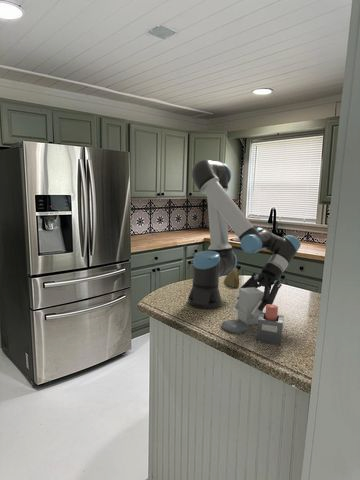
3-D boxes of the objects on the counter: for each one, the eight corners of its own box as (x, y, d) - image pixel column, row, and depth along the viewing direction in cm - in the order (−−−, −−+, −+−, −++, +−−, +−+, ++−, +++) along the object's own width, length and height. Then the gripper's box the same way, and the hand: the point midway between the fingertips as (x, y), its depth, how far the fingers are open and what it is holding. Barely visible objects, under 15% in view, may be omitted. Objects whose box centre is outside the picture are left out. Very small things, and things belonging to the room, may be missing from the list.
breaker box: (256, 341, 110) (257, 319, 109) (259, 332, 117) (260, 312, 116) (280, 345, 108) (282, 323, 106) (281, 337, 114) (283, 315, 113)
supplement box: (262, 323, 125) (265, 292, 123) (245, 325, 123) (247, 293, 121) (253, 316, 132) (255, 286, 130) (236, 317, 130) (238, 287, 128)
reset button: (263, 325, 110) (265, 307, 109) (265, 321, 114) (266, 303, 113) (275, 328, 109) (277, 309, 108) (276, 323, 113) (278, 305, 112)
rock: (244, 284, 169) (243, 277, 178) (235, 272, 167) (234, 265, 177) (227, 294, 172) (227, 286, 181) (218, 282, 170) (218, 275, 180)
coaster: (218, 330, 118) (218, 328, 118) (224, 320, 127) (225, 318, 127) (245, 335, 114) (246, 333, 114) (250, 325, 124) (250, 322, 123)
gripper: (300, 279, 125) (269, 327, 118) (258, 267, 142) (230, 308, 136) (293, 268, 121) (261, 316, 114) (251, 256, 138) (221, 298, 132)
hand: (244, 311), depth 125 cm, fingers closed on supplement box, 9 cm apart
